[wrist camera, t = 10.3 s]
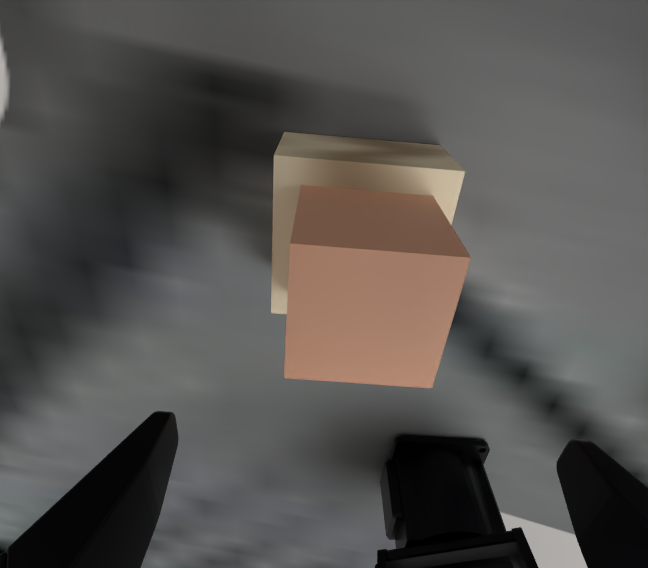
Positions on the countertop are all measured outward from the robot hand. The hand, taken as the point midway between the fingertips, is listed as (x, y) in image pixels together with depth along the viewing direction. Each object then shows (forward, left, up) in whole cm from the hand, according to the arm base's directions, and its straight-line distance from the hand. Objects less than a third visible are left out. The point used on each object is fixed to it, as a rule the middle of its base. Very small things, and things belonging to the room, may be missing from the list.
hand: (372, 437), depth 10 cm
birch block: (0, 0, -13) cm, 13 cm away
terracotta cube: (0, 0, -9) cm, 9 cm away
